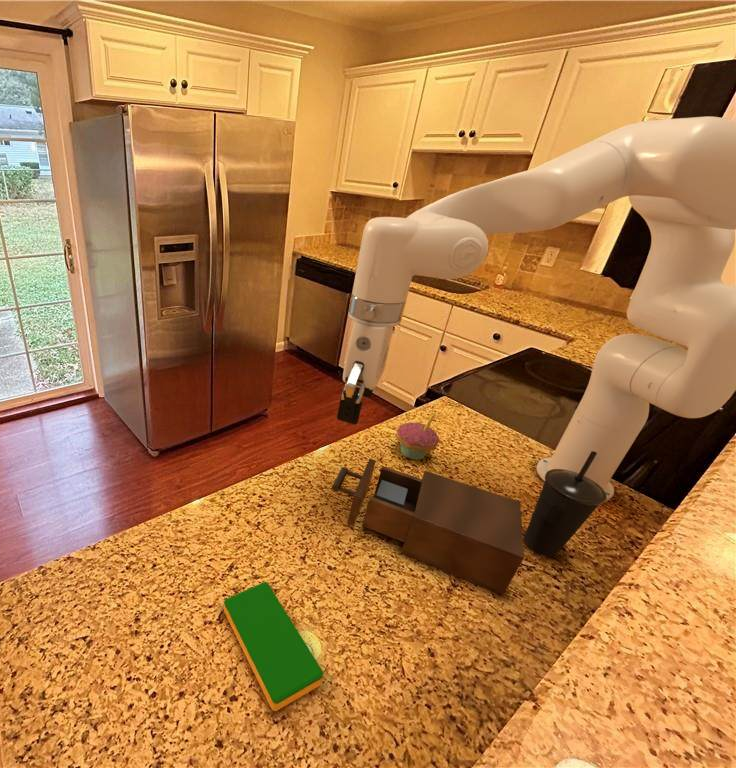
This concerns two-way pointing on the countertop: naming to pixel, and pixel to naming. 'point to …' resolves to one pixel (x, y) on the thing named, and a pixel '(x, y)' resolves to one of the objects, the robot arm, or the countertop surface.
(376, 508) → the drawer
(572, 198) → the robot arm
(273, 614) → the dish sponge
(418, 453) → the cupcake
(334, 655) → the countertop surface
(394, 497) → the block
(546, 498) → the drinking cup
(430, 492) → the cabinet
